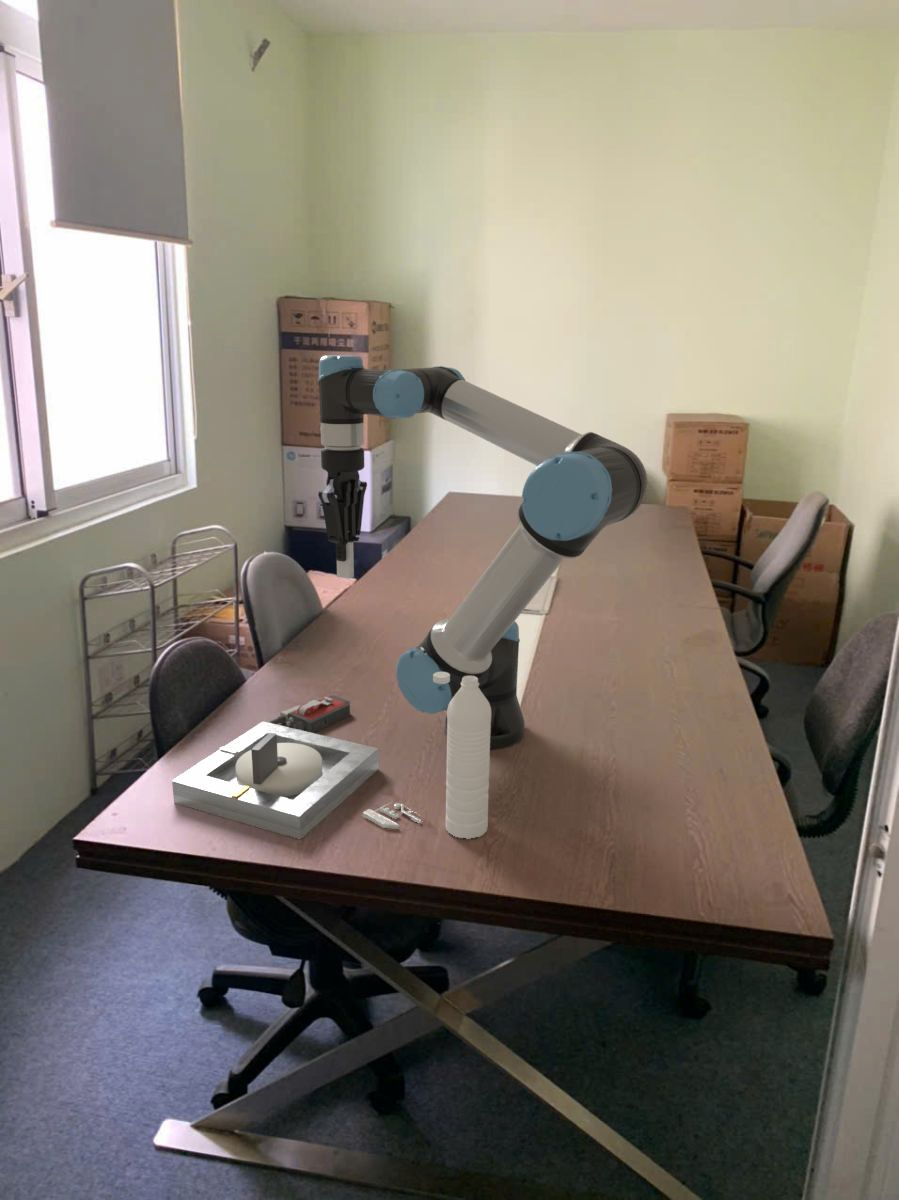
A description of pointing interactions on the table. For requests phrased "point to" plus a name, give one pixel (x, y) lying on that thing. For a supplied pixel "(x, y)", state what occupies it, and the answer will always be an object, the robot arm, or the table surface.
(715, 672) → the table surface
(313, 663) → the table surface
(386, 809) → the model kit parts
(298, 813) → the silver rectangular frame
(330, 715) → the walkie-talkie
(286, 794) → the dial
